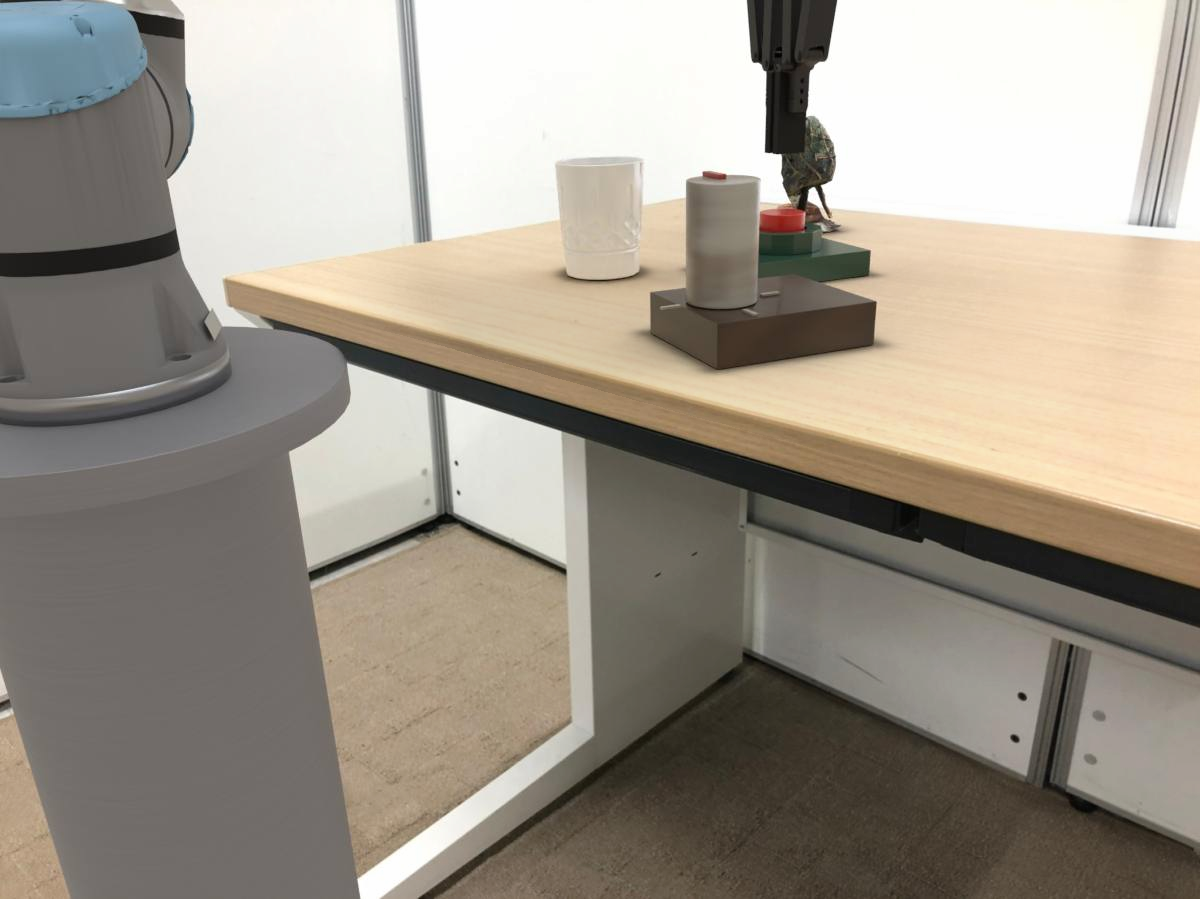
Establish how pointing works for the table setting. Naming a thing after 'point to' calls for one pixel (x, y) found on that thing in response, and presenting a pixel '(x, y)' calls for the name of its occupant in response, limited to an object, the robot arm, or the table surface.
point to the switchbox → (809, 256)
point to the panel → (766, 323)
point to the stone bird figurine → (810, 174)
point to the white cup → (600, 215)
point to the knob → (722, 240)
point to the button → (782, 220)
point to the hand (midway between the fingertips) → (784, 152)
